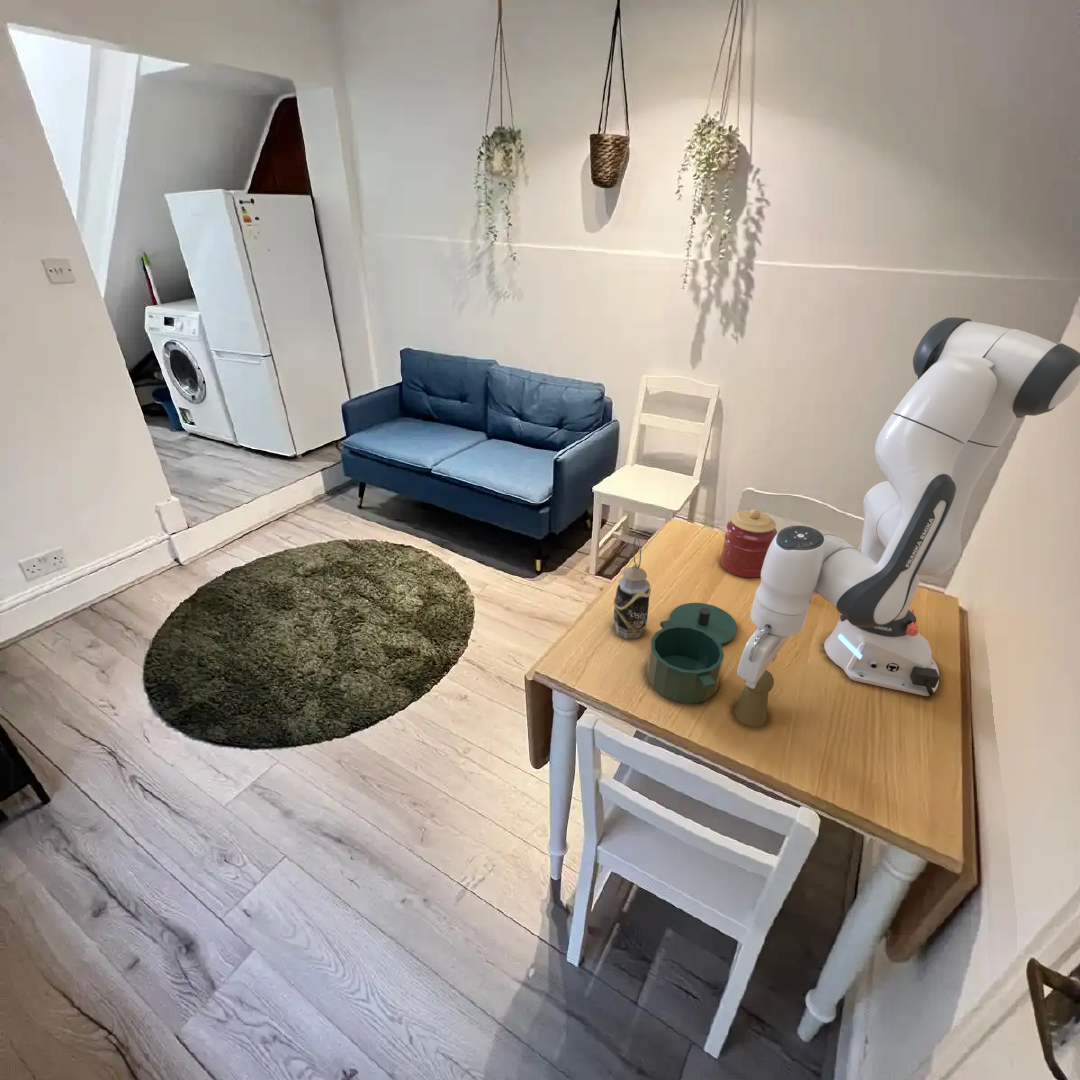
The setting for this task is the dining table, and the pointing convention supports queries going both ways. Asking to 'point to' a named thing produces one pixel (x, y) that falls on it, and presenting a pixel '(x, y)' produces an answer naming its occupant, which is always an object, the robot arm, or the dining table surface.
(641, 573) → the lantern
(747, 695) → the tan game pawn
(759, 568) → the kitchen canister
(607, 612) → the dining table surface
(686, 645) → the pot
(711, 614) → the lid
